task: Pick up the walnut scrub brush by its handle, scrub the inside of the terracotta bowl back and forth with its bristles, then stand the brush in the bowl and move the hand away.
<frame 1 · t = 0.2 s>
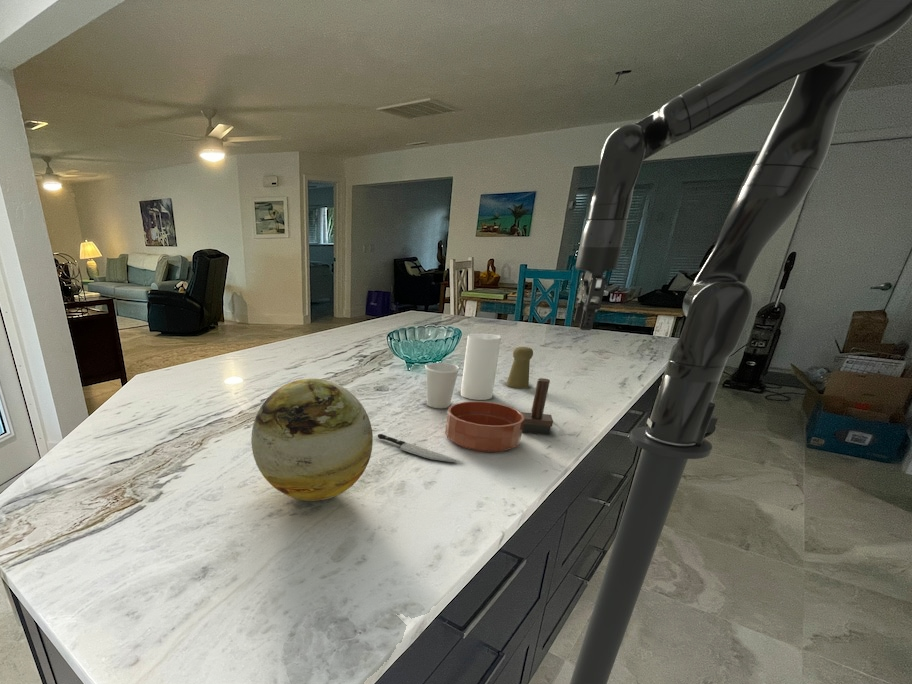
hand: (582, 326, 101), 22 cm above the countertop, tool pointing down, fingers open, 8 cm apart
cup: (476, 395, 128), on the countertop
decorative sphere: (312, 493, 81), on the countertop
olive pepper shaker: (517, 385, 136), on the countertop
chef's knife: (413, 452, 95), on the countertop
dixie cup: (438, 405, 121), on the countertop
scrub brush: (533, 429, 105), on the countertop
bowl: (481, 439, 101), on the countertop
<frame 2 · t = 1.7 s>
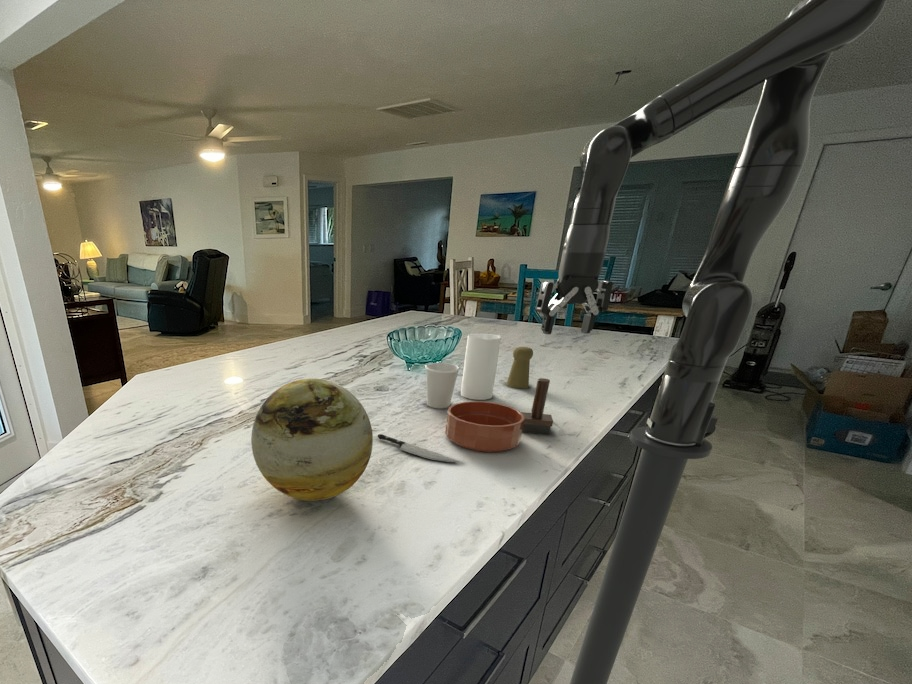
hand: (566, 333, 99), 21 cm above the countertop, tool pointing down, fingers open, 8 cm apart
nothing on the countertop moved.
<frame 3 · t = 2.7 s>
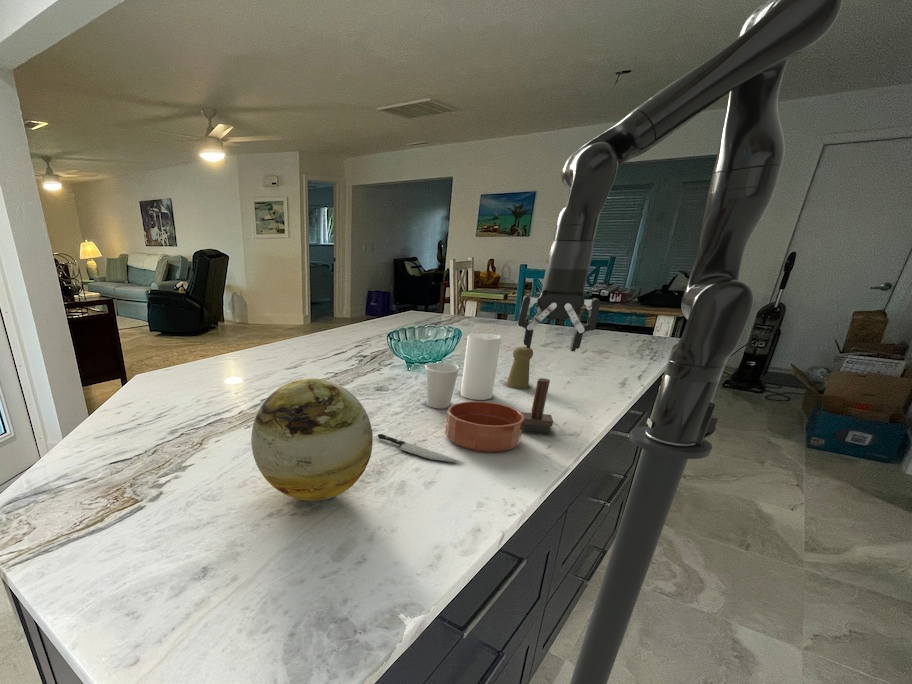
hand: (550, 349, 98), 18 cm above the countertop, tool pointing down, fingers open, 8 cm apart
nothing on the countertop moved.
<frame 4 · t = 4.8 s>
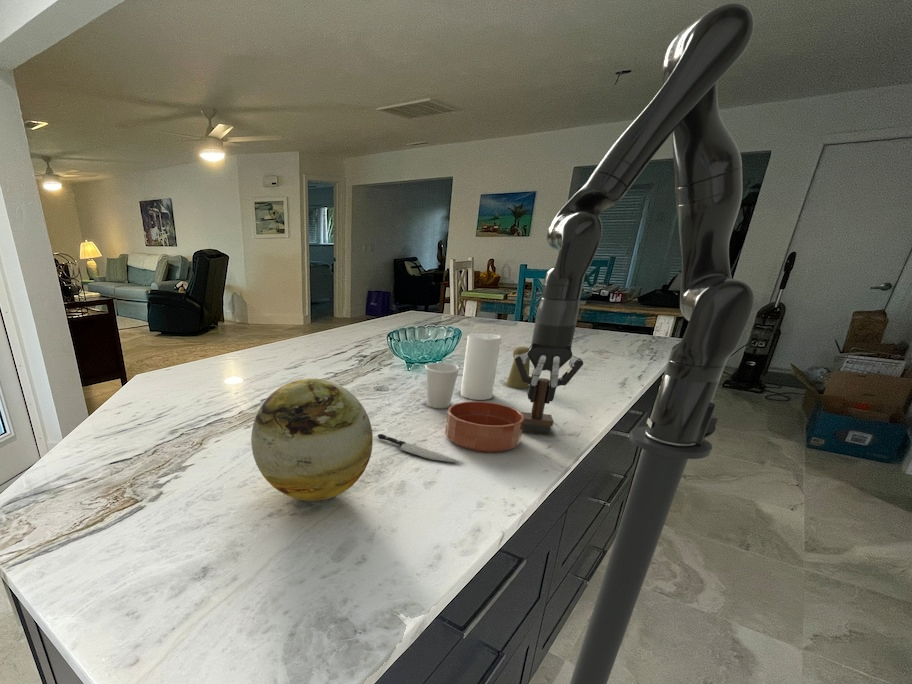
hand: (539, 401, 102), 7 cm above the countertop, tool pointing down, fingers closed on scrub brush, 2 cm apart
scrub brush: (533, 429, 105), on the countertop, touching gripper
everything else where it was.
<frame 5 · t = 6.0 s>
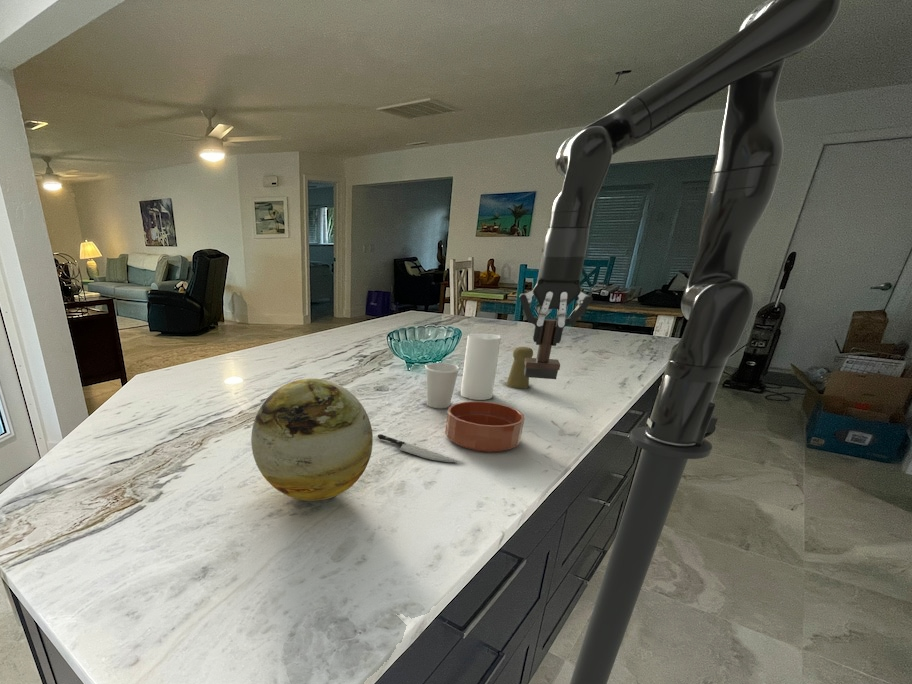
hand: (545, 344, 97), 19 cm above the countertop, tool pointing down, fingers closed on scrub brush, 2 cm apart
scrub brush: (539, 375, 99), point 13 cm above the countertop, touching gripper
everything else where it was.
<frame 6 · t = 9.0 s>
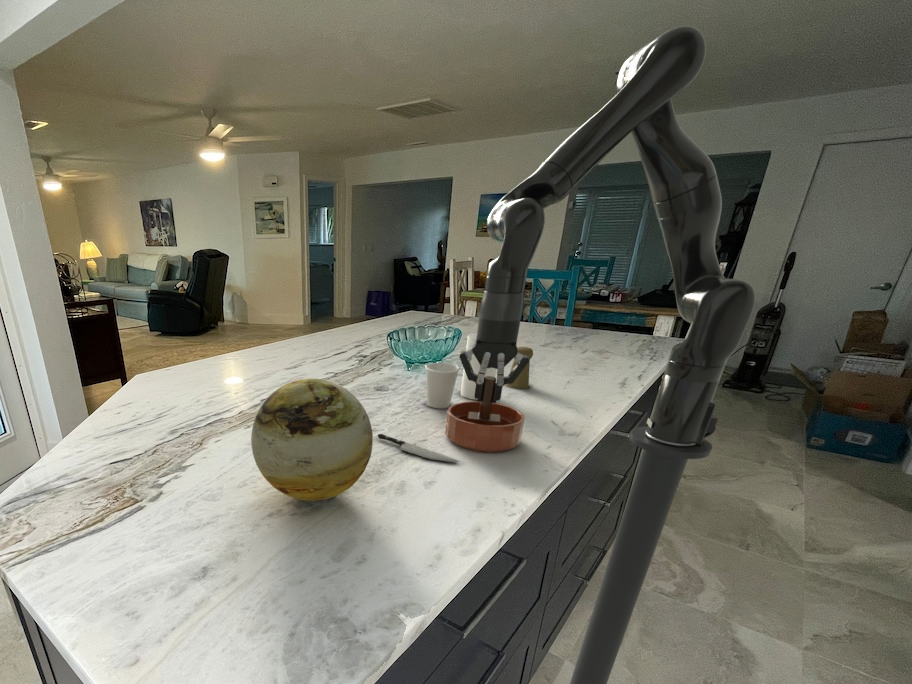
hand: (486, 400, 97), 9 cm above the countertop, tool pointing down, fingers closed on scrub brush, 2 cm apart
scrub brush: (482, 430, 100), point 2 cm above the countertop, touching gripper
everything else where it was.
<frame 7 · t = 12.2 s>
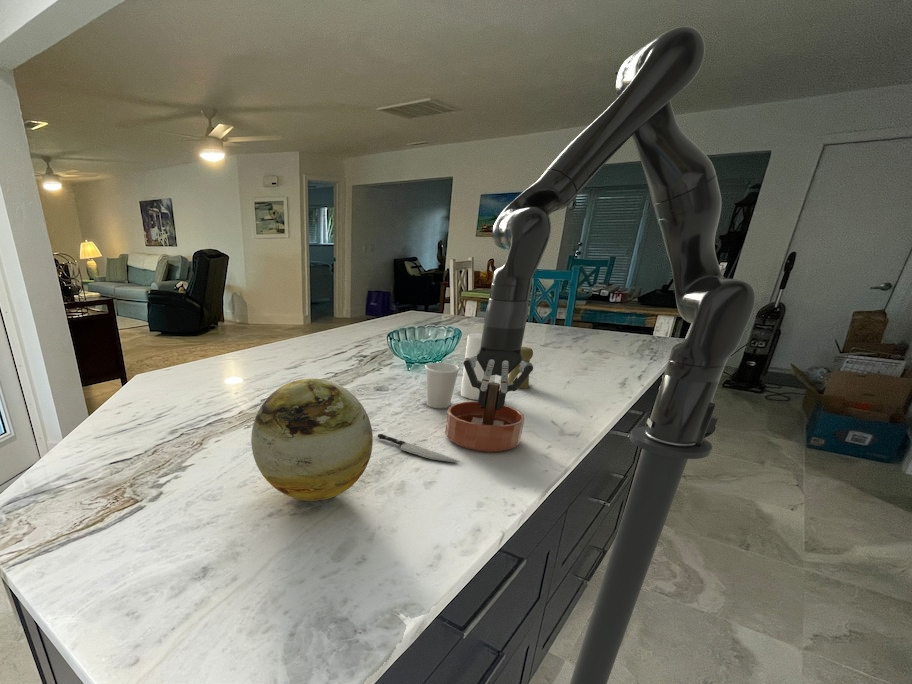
hand: (490, 407, 97), 7 cm above the countertop, tool pointing down, fingers closed on scrub brush, 2 cm apart
scrub brush: (485, 436, 100), point 1 cm above the countertop, touching gripper
everything else where it was.
when the fingers open (7 cm above the countertop, at t = 13.7 s): scrub brush stays where it is, resting on bowl.
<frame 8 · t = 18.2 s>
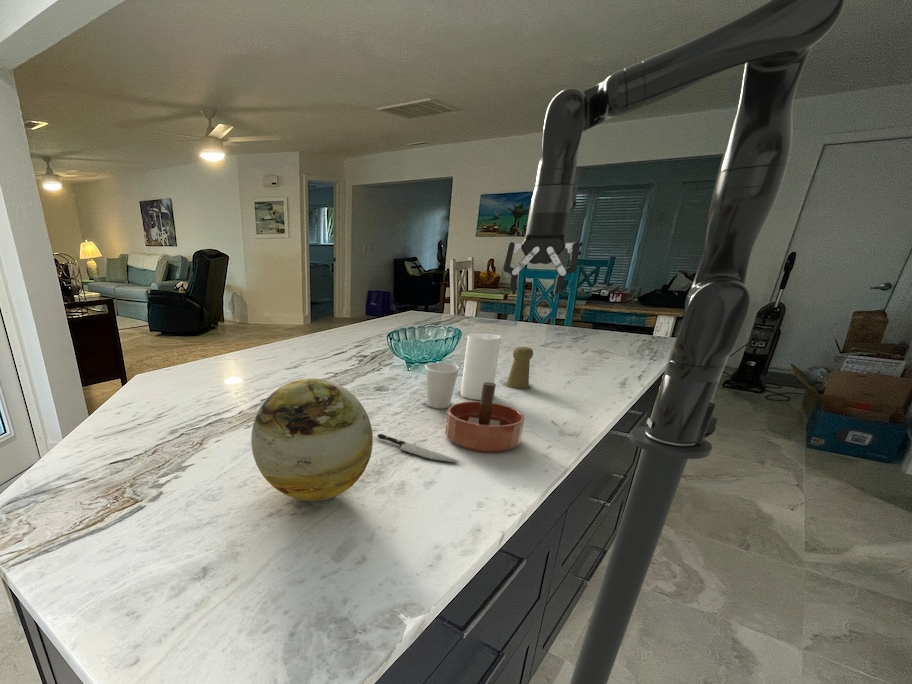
hand: (534, 293, 103), 28 cm above the countertop, tool pointing down, fingers open, 8 cm apart
scrub brush: (481, 436, 100), point 1 cm above the countertop, touching bowl
everything else where it was.
at the end: scrub brush inside the target area in the bowl (0.2 cm from its centre), point 0.8 cm above the bowl's base; the gripper is holding nothing; scrub brush tilted 0° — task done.
